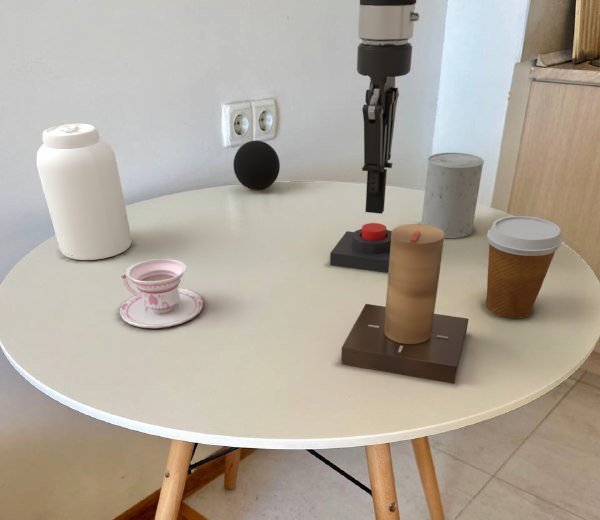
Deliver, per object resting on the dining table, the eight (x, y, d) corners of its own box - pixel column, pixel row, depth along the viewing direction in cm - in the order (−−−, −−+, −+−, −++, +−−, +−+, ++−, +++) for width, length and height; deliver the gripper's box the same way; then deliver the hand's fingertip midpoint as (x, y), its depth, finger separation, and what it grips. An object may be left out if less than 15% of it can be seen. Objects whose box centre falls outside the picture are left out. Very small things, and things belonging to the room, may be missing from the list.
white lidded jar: (55, 242, 108) (22, 124, 96) (123, 230, 112) (100, 115, 100) (67, 267, 99) (32, 141, 87) (140, 253, 103) (117, 130, 91)
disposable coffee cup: (469, 318, 83) (484, 235, 76) (479, 289, 90) (493, 211, 83) (541, 329, 80) (563, 245, 73) (545, 299, 87) (566, 219, 80)
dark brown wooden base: (466, 334, 79) (469, 317, 78) (454, 383, 70) (457, 365, 69) (364, 319, 83) (365, 302, 82) (341, 364, 74) (341, 346, 73)
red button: (388, 234, 99) (388, 224, 98) (382, 243, 96) (383, 232, 95) (364, 231, 100) (365, 221, 99) (358, 240, 97) (359, 230, 96)
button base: (413, 250, 102) (415, 228, 100) (401, 274, 95) (403, 250, 92) (346, 242, 106) (346, 221, 103) (329, 265, 98) (330, 242, 96)
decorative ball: (289, 188, 131) (288, 140, 125) (255, 199, 125) (252, 150, 119) (260, 179, 137) (257, 133, 131) (226, 189, 131) (221, 141, 125)
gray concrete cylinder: (441, 215, 116) (449, 149, 108) (483, 228, 110) (495, 159, 102) (409, 228, 110) (416, 160, 103) (452, 242, 105) (462, 171, 97)
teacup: (207, 289, 92) (202, 252, 88) (198, 328, 82) (192, 288, 78) (129, 291, 91) (122, 254, 88) (111, 331, 82) (102, 290, 78)
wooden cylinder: (389, 317, 78) (397, 218, 70) (435, 324, 77) (448, 224, 69) (378, 339, 74) (386, 237, 66) (426, 347, 72) (440, 243, 64)
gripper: (402, 48, 75) (388, 228, 90) (420, 36, 85) (405, 200, 99) (346, 46, 77) (341, 222, 92) (370, 35, 87) (362, 196, 101)
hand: (374, 211), depth 95 cm, fingers closed
